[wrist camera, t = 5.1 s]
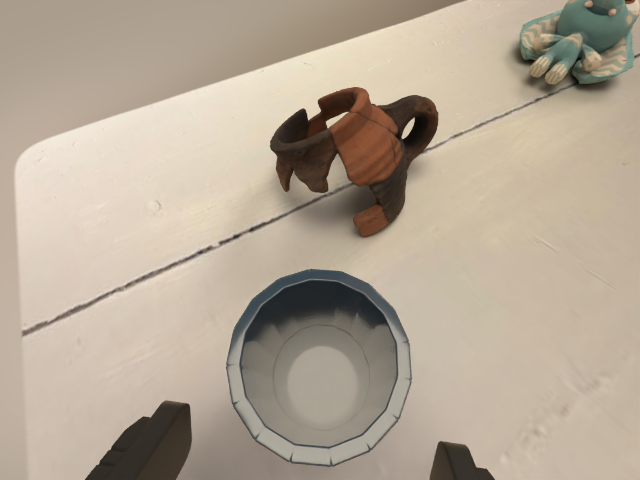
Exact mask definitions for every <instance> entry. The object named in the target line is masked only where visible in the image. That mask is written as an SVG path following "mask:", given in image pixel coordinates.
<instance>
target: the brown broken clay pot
mask: <svg viewBox="0 0 640 480" xmlns="http://www.w3.org/2000/svg"><path fill="white" fill-rule="evenodd" d="M318 104H319V107H320V109H321V112H320V113H319V114H317V115H316V116H314V117H313V118H311V119H310V120H309V121H308V118H307V113H306V110H305V109H304V108H303V109H301V110H299V111H298V112H296V113H295V114H294V115H292V116H291V117H290V118H288V119H287V120H286V121H285V122H284V123H283V124H282V125H281V126H280V127H279V128H278V129H277V131H276V132H275V134H274V136H273V137H272V139H271V141H270V148H271V150H272V151H273V152H274V153H275V154H276V155H277V157H278V158H277V165H276V171H277V173H278V176H279V179H280V183H281V185H282V187H283V189H284V191H285V192H288V191H289V184H290V178H291V176H292V173H293V171H294V172H295V175H296V176H297V177H298V179H299V180H300V181H302V182H303V183H305V184H306V185H307V186H308V188H309V189H310V190H311V191H313V192H319V193H324V192H327V191H328V183H327V179H326V177H327V176H328V173H329V169H330V166H331V163H332V161H333V160H334V158H335V156H336V154H337V153H338V154H339V155H340V158H341V160H342V162H343V164H344V166H345V169H346V172H347V176H348V179H349V180H350V181H352V182H353V183H354V184H355V185H357V186H360V187H361V186H368V185H369V187H370V190H371V191H372V192H373V193H374V195H375V196H376V200H377V203H376V204H374V205H373V206H372V207H370V208H369V209H367V210H365V211H363V212H361V213H359V214H357V215H355V216H354V217H353V221H354V224H355V226H356V227H357V228H358V230H359V232H360V234H361V236H362V237H366V236H368V235H371V234H374V233H376V232H377V231H379V230H381V229H382V228H384V227H385V226H387V225H388V224H389V223H391V222H392V221H393V220H394V219H395V218H396V216H397V215H399V213H400V211H401V209H402V208H403V206H404V203H405V186H406V179H407V169H408V167H409V165H410V163H411V162H412V161H413V160H414V159H415V158H416V157H417V156H418V155H419V154H420V153H421V152H422V151H423V150H424V149H425V148H426V147H427V146H428V144H429V143H430V142H431V140H432V138H433V137H434V135H435V133H436V130H437V126H438V112H437V110H436V106H435V104H434V103H433V102H432V101H431V100H430V99H428V98H426V97H421V96H418V95H411V96H407V97H404V98H402V99H400V100H398V101H396V102H394V103H391V104H389V105H378V106H376V105H375V104H371V102H370V99H369V94H368V92H367V91H366V90H365V89H363V88H359V87H353V88H347V89H343V90H340V91H336V92H334V93H331V94H329V95H326V96H324V97H322V98H320V99H319V100H318ZM345 112H349V113H347V114H346V115H345V116H343V117H342V118H341V119H340V120H339V121H337V122H336V123H335V124H333V125H332V126H330V127H329V128H327V125H326V122H325V121H327V120H329V119H331V118H333V117H336V116H338V115H340V114H342V113H345ZM414 117H415V122H414V126H413V128H412V130H411V132H410V133H409V135H408V136H407V137H406V138H404V139H402V138H401V137H402V133H403V131H404V128H405V126H406V125H407V124H408V122H409V121H410V120H411V119H413V118H414Z"/></svg>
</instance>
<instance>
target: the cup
mask: <svg viewBox="0 0 640 480" xmlns="http://www.w3.org/2000/svg"><path fill="white" fill-rule="evenodd" d="M226 365H227V366H226V369H227V375H228V381H229V387H230V394H231V400H232V404H233V407H234V409H235V410H236V412H237V413H238V415H239V417H240V418H241V420H242V421H243V423H244V424H245V426H246V428H247V429H248V431H249V432H250V434H251V436H252V437H253V439H255V441H256V442H258V443H259V444H261V445H262V446H264V447H266V448H267V449H269V450H270V451H272V452H273V453H275V454H276V455H278V456H280V457H281V458H283V459H284V460H286V461H287V462H291V463H294V464H305V465H315V466H325V467H331V466H336V465H338V464H341V463H343V462H346V461H348V460H351V459H353V458H356V457H358V456H360V455H363V454H365V453H368V452H370V450H372V449H373V448H374V447H375V446H376V445H377V444H378V443H379V442H380V441H381V439H382V438H383V437H384V436H385V435H386V434H387V433H388V432H389V430H390V429H391V428H392V427H393V426H394V425H395V424H396V423H397V422H398V419H399V418H400V416H401V413H402V410H403V406H404V403H405V400H406V397H407V394H408V391H409V388H410V385H411V380H412V375H411V359H410V344H409V340H408V338H407V335H406V333H405V331H404V329H403V327H402V324H401V322H400V320H399V318H398V316H397V313H396V311H395V310H394V308H393V307H392V306H391V305H390V304H389V303H388V302H387V301H386V300H385V299H384V298H383V297H382V296H381V295H380V294H379V293H378V292H377V291H376V290H375V289H374V288H373V287H372V286H371V285H370V284H368V283H366V282H364V281H362V280H359V279H357V278H355V277H353V276H351V275H348V274H346V273H344V272H342V271H341V272H340V271H331V270H316V269H310V270H305V271H302V272H298V273H295V274H292V275H288V276H285V277H282V278H280V279H278V280H276V281H275V282H274V283H272V284H271V285H270V286H268V287H267V288H266V289H265V290H263V291H262V292H261V293H259V294H258V295H257V296H255V297H254V298H253V299H252V300H251V302H250V304H249V305H248V307H247V308H246V310H245V311H244V313H243V315H242V316H241V318H240V319H239V321H238V323H237V324H236V326H235V328H234V330H233V334H232V339H231V344H230V349H229V353H228V358H227V363H226Z"/></svg>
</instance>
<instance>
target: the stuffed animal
mask: <svg viewBox="0 0 640 480" xmlns="http://www.w3.org/2000/svg"><path fill="white" fill-rule="evenodd" d="M639 13H640V0H570V1H569V2H568V3H566V5H565V7H564V8H563V9H562V10H560V11H557V12H555V13H552V14H549V15H547V16H544V17H540V18H537V19H534V20H532V21H530V22H528V23H526V24H524V25H523V27H522V30H521V33H520V48H521V53H522V56H523V58H524V59H525V60H527V59H532V60H536V61H535V62H534V63H533V64H532V65H531V66H530V70H529V73H530V74H531V75H532V76H533V77H540V76H541V75H543V74H544V73H545V72H546V71H547V70H548V68H549V67H550V68H551V69H550V70H549V72H548V73H547V74H546V76H545V81H546V82H548V83H549V84H557V83H558V82H559V81H561V80H562V79H563V78H564V77H565V75H566V74H567V73H568V71H569V68H570V67H571V66H572V65H574V63H575V61H576V59H577V58H582V60H579V61H577V63H576V64H575V66H574V68H573V70H572V73H573V75H574V76H575V77H576V78H577V79H578V81H579V84H590V83H596V82H602V81H606V80H608V79H610V78H612V77H614V76H616V75H618V74H620V73H622V72H624V71H626V70H628V69H630V68H632V65H633V62H634V53H633V45H632V26H633V24H634V22H635V21H636V19H637V17H638V15H639Z"/></svg>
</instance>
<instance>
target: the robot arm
mask: <svg viewBox="0 0 640 480" xmlns="http://www.w3.org/2000/svg"><path fill="white" fill-rule="evenodd" d="M191 442H192V433H191V415H190V406H189V404H187V403H180V402H173V401H164V402H163V403H162V404H161V405H160V406H159V407H158V409H157V410H156V411H155V413H154V414H153V415H152V417H151V418H150V417H142V418H141V419H139V420H138V421H137V422H135V423H134V424H133V425H131V426H130V427H129V428H127V429H126V430H125V431H124V432H123V433H122V435H121V436H120V437H119V438H118V440H117V441H116V442H115V443H114V444H113V446H112V448H111V450H109V451H108V452H107V453H106V454H105V456H104V457H103V458H102V459H101V460H100V463H99V465H96V467H95V468H94V469H93V470H92V471H91V473H90V474H89V475H88V476H87V478H86V479H85V480H176V478H177V477H178V475H179V473H180V471H181V469H182V467H183V465H184V463H185V461H186V459H187V457H188V454H189V451H190V448H191ZM430 480H495V479H494V478H493V476H492V475H491V474H490V473H489V471H488V470H487V469H483V468H477V467H476V466H475V463H474V461H473V458H472V456H471V453H470V451H469V449H468V447H467V446H466V445H463V444H456V443H450V442H443V441H440V442H439V443H438V445H437V449H436V454H435V458H434V462H433V466H432V470H431V474H430Z"/></svg>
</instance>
